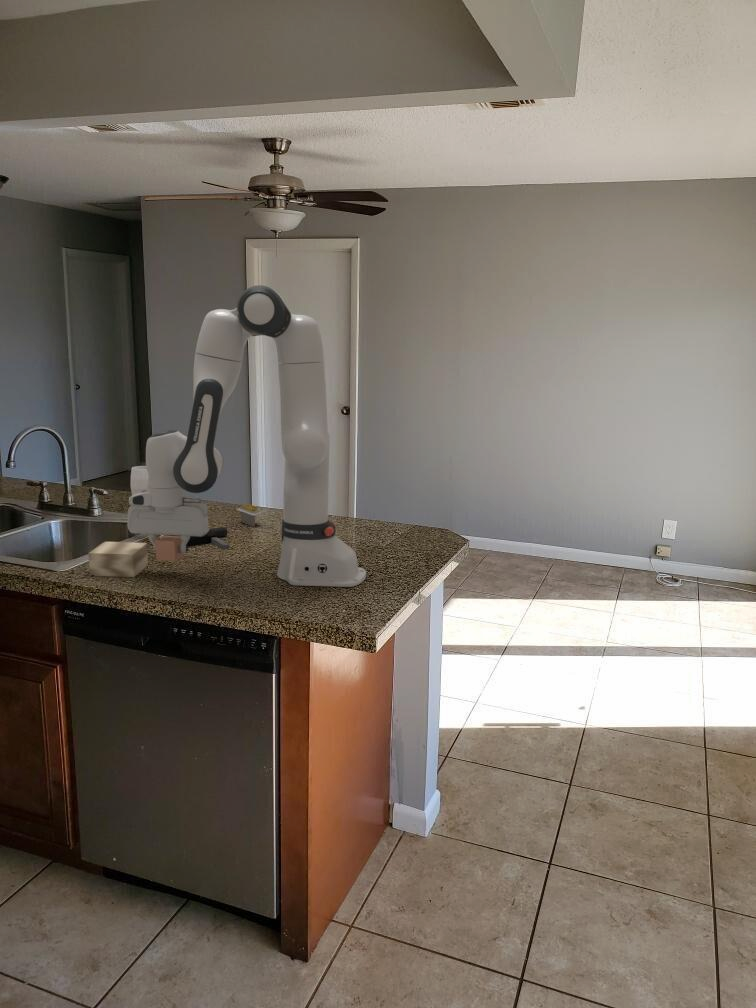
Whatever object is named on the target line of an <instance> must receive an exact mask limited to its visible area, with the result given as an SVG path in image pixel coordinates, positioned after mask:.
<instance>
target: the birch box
mask: <svg viewBox="0 0 756 1008" xmlns="http://www.w3.org/2000/svg"><path fill="white" fill-rule="evenodd" d="M148 551H149V550H148V542H127V541H123V542H122V541H104V542H102V543H101V544H99V545H97V546H95V548H93V549H92V550H91V551H90V552H88V573H89V576H90V575H94V576H93V577H95V576H96V577H119V578H120V577H122V578H124V577H125V578H135V577H136V576H137V575H138V574H139V573H141V571H143V570H144V569H145V568H146V567H147V566H148V565H149V555H148Z"/></svg>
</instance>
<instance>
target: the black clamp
mask: <svg viewBox="0 0 756 1008" xmlns="http://www.w3.org/2000/svg"><path fill="white" fill-rule="evenodd" d="M163 536H180V535H163ZM226 536H228V529H227V528H226V527H222V526H219V527H213V528H209V531H208V533H207V534H206V535H204V536H202V537H199V536H190V539H189V541H188V543H187V544H186V552H187V551H188V549H189V547H190V548H191V547H195V546H202V545H203V546H205V545H209V544H210V543H211V544H212V545H214V546H216V547H218V548H219V549H222V550H228V549H229V550H230V544H229V543H227V542H226V541H224V540H222V539H220V538H224V537H226ZM211 544H210V545H211Z"/></svg>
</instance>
